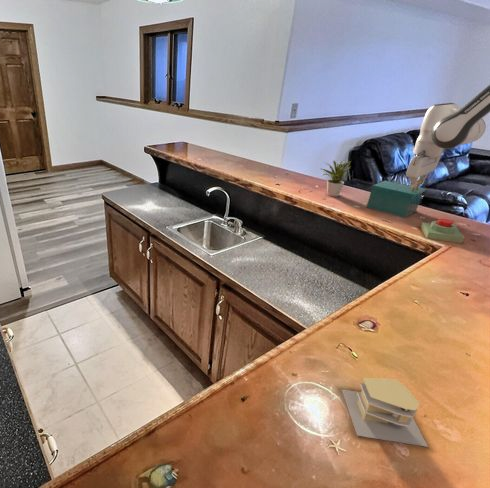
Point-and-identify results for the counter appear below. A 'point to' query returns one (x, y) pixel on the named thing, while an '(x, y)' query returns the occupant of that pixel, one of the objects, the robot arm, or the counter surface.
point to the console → (441, 232)
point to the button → (444, 222)
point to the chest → (393, 202)
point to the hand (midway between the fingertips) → (416, 185)
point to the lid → (400, 188)
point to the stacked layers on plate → (384, 411)
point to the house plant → (336, 178)
